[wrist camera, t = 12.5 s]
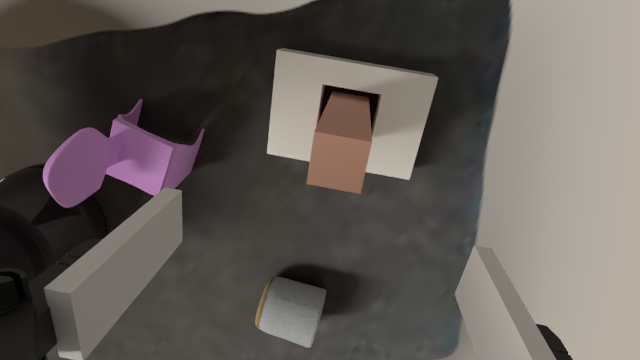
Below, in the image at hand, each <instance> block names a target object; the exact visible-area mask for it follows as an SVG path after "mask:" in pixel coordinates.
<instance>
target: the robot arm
mask: <svg viewBox="0 0 640 360" xmlns="http://www.w3.org/2000/svg"><path fill="white" fill-rule="evenodd" d="M43 169H44V168H39V167H32V168H25V169H22V170H19V171H17V172H15V173H12V174H10V175H8V176H5V177H4V178H2V179H1V180H0V360H47V356H46V354H47V353H48V352H49V351H50V350H51V349H52V348H53V347H54V345H55V344H57V348H58V353H59V357H63V358H68V359H73V360H85V359H86V358H87V356H88V355H89V354H90V353H91V352H92V350H93V349H94V348H95V347H96V345H97V344H98V343H99V342H100V341H101V339H102V338H103V337H104V336H105V335H106V333H107V332H108V331H109V330H110V329H111V327H112V326H113V325H114V324H115V322H116V321H117V320H118V319H119V318H120V316H121V315H122V314H123V313H124V312H125V310H126V309H127V308H128V307H129V305H130V304H131V303H132V302H133V301H134V299H135V298H136V297H137V296H138V295H139V293H140V292H141V291H142V290H143V288H144V287H145V286H146V285H147V284H148V282H149V281H150V280H151V279H152V278H153V276H154V275H155V274H156V273H157V272H158V270H159V269H160V268H161V267H162V265H163V264H164V263H165V262H166V261H167V259H168V258H169V257H170V256H171V255H172V253H173V252H174V251H175V250H176V248H177V247H178V246H179V245H180V244H181V242H182V241H183V240H182V190H177V189H172V188H166V187H165V188H164V189H163V190H161V191H160V192H159V193H158V194H157V195H155V196H154V197H153V198H152V199H151V200H149V201H148V202H147V203H146V204H145V205H143V206H142V207H141V208H140V209H139V210H137V211H136V212H135V213H134V214H133V215H131V216H130V217H129V218H128V219H127V220H125V221H124V222H123V223H122V224H121V225H119V226H118V227H117V228H116V229H114V230H113V231H112V232H111V233H110V234H108V235H107V236H106V224H105V220H104V217H103V214H102V212H101V210H100V208H99V206H98V205H97V203H96V202H95V200H94V199H93V198H92V196H91V195H90V196H89V197H87V198H86V199H85V200H83V201H82V202H80V203H78V204H77V205H75V206H73V207H69V208H66V207H63V206H61V205H60V204H58V202H57V201H56V200H55V199H54V198H53V197H52V195H51V194H50V193H49V191H48V189H47V188H46V186H45V184H44V181H43ZM455 296H456V299H457V302H458V305H459V308H460V311H461V314H462V317H463V319H464V322H465V325H466V328H467V331H468V334H469V337H470V339H471V342H472V345H473V348H474V351H475V354H476V357H477V360H573V359H572V358H571V356H570V355H568V352H567V350H566V348H565V347H564V345H563V343H562V342H561V340H560V339H559V338H558V337H557V336H556V335H555V334H554V333H553V332H552V331H551V330H550V329H549V328H548V327H547V326H544V325H539V324H535V322H534V321H533V319H532V317H531V315H530V314H529V312H528V311H527V309H526V307H525V305H524V303H523V301H522V300H521V298H520V296H519V295H518V293H517V291H516V289H515V288H514V286H513V284H512V283H511V281H510V279H509V277H508V276H507V274H506V272H505V270H504V269H503V267H502V265H501V264H500V262H499V260H498V258H497V257H496V255H495V254H494V252H493V250H492V249H490V248H485V247H479V246H474V247H473V250H472V252H471V255H470V257H469V260H468V262H467V265H466V267H465V270H464V272H463V275H462V277H461V280H460V282H459V284H458V287H457V289H456V292H455Z"/></svg>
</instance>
